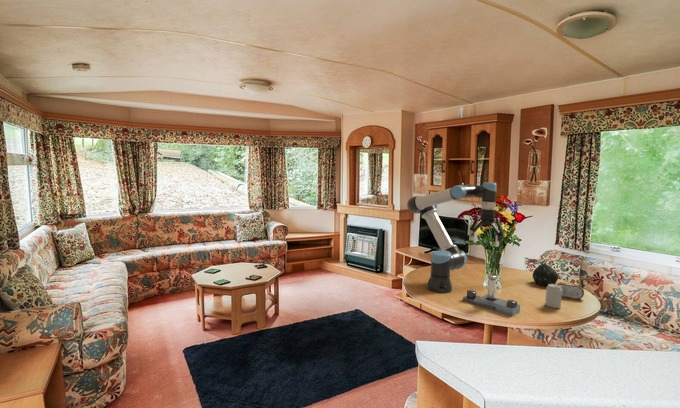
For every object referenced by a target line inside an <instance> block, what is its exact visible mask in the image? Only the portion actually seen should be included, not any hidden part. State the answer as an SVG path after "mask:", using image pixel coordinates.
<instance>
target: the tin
mask: <svg viewBox="0 0 680 408" xmlns="http://www.w3.org/2000/svg"><path fill="white" fill-rule="evenodd" d="M556 285H559V286H561V289H562V296H561V298H568V299H574V300H580V299H582V298H583V297H584V296H585V290H584V288H583V287H582V286H581V285H580V284H575V283H569V282H563V281H561V282H558V283H557V282H556Z"/></svg>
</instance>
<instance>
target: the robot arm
mask: <svg viewBox="0 0 680 408" xmlns="http://www.w3.org/2000/svg"><path fill="white" fill-rule="evenodd" d="M496 196H497V182H489V181H488V182H486V181H485V182H483V183H482V184H481V185H480V184H458V185H453V187H450V188H447V189H443V190H440V191H436V192H433V193H429V194H426V195H415V196H412V197H410V198H409V199H408V200H407V203H406V207H407V209H408V210H409V212H410V213H413V214H419V215H420V217H421V218H422V219H424V220H425V221H426V223H427V225H428V227H429V229H430V231H431V233H432V234H433V238H434V239H435V241H436V243H437V245H438V246H439V249H441V250H435V251H433V252H432V253H431V258H430V277H429V279H428V282H427V284H426V288H427V289H428V290H429V291H431V292H435V293H439V294H441V293H442V294H443V293H444V294H445V293H451V292H452V291H453V285H452V280H451V272H452V271H456V270H459V269H461V268H463V267H465V265H466V264H467V261H468V258H467V255H466V252H465V251H463V250H462V249H460V248H459V247H458V246H457V244H454V243H453V241H452V239H451V237H450V235H449V234H448V232H447V230H446V227H445V226H444V225H443V223H442V221H441V219H440V217H439V215H438V205H440V204H444V203H448V202H452V201H456V200H460V199H465V198H466V199H467V198H468V199H469V198H471V199H472V198H478V199H479V198H480V199H481V207H480V215H475V218H474V220H473V223H472V224H471V226H470V227H469V231H471V232H472V237H473V242H472V243H477V242H478V231H477V230H479V229H480V228H481V227H482V225H487V226H491V228H492V229H493V230H494V231H493V232H495V234H496V235H495V245H494V247H500V241H501V239H502V236H503V235H505V230H504V229H503V226H502V223H501V219H500V217H497V218H495V215H496V213H495V212H496V210H495V209H496V198H497V197H496ZM479 220H480V221H479ZM478 222H479V223H478Z"/></svg>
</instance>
